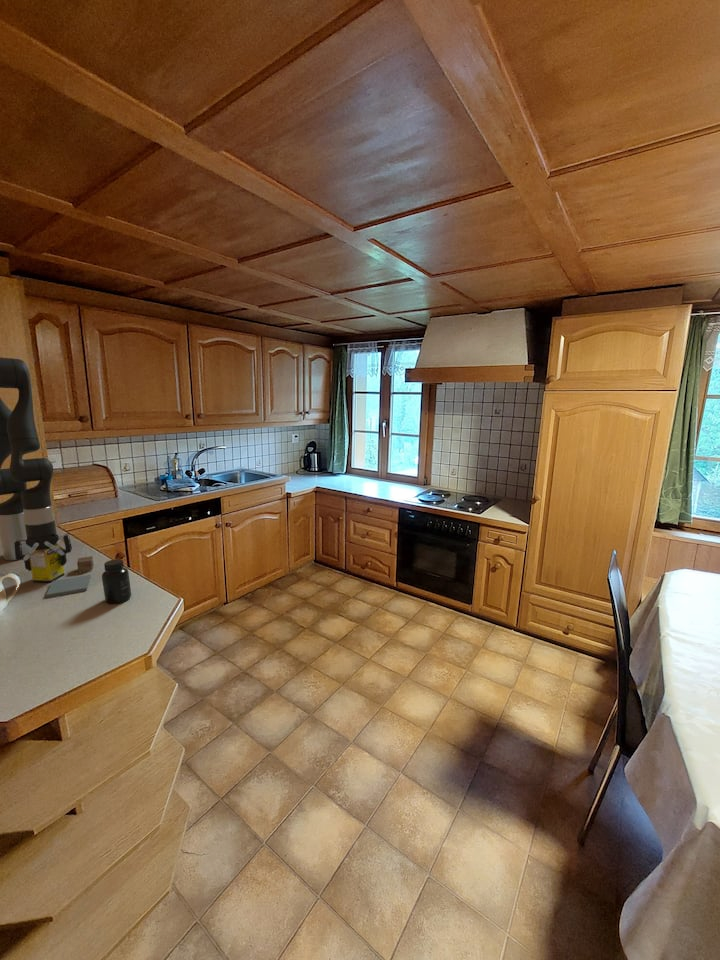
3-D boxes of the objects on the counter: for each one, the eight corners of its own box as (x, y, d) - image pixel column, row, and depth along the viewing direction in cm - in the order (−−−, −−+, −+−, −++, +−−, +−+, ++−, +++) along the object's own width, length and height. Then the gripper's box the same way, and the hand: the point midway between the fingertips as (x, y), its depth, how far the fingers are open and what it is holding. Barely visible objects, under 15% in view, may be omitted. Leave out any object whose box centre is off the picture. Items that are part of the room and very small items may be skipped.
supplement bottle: (127, 591, 123) (124, 555, 120) (134, 599, 118) (130, 562, 115) (102, 598, 118) (97, 561, 115) (108, 607, 113) (103, 569, 111)
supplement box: (64, 574, 132) (60, 544, 130) (50, 583, 126) (45, 551, 124) (47, 574, 132) (43, 543, 130) (32, 582, 127) (27, 550, 124)
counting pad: (53, 583, 126) (52, 580, 126) (90, 577, 131) (90, 574, 130) (46, 597, 117) (46, 594, 117) (86, 590, 122) (86, 587, 122)
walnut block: (80, 568, 137) (78, 557, 137) (93, 566, 139) (92, 556, 138) (78, 573, 134) (77, 562, 133) (92, 570, 136) (91, 560, 135)
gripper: (68, 514, 132) (75, 559, 135) (14, 520, 125) (22, 567, 128) (65, 520, 125) (71, 567, 128) (7, 526, 118) (15, 576, 122)
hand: (47, 567), depth 128 cm, fingers open, 8 cm apart
